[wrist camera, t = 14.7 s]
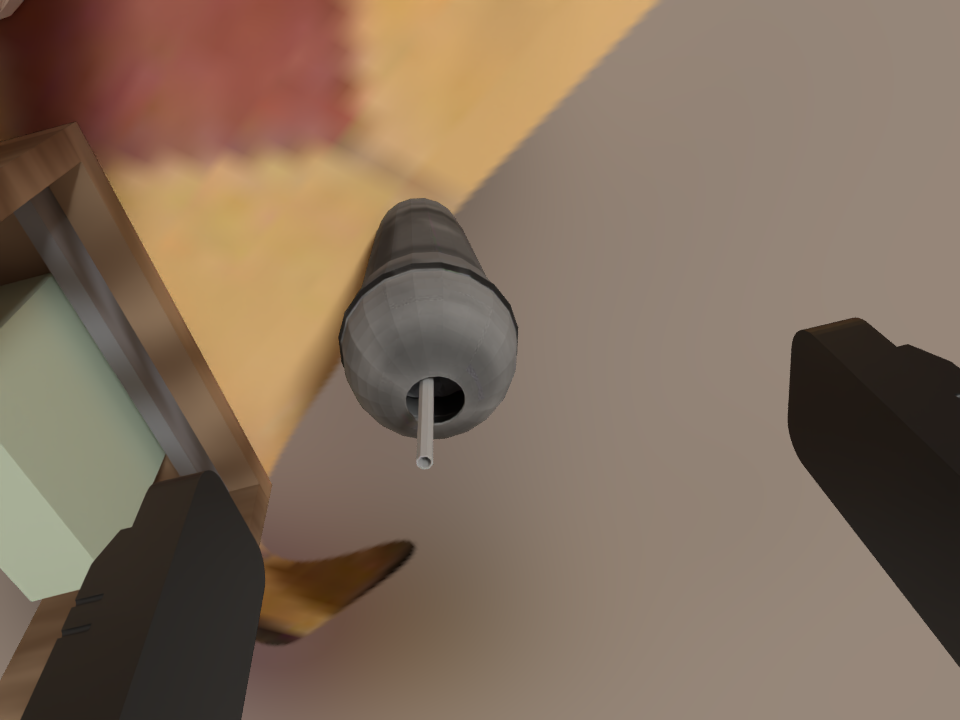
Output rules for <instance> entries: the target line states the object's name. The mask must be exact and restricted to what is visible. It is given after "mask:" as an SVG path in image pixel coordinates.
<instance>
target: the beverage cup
mask: <svg viewBox="0 0 960 720" xmlns="http://www.w3.org/2000/svg"><path fill="white" fill-rule="evenodd" d="M517 340H518V326H517V323H516V320H515V317H514V315H513V312H512V308H511V305H510V304H509V303H508V301H507V300H506V299H505V297H504V296H503V295H502V294H501V292H500V291H499V290H498V289H497V287H496V286H495V285H494V284H493V283H491V282H490V281H489V280H488V278H487V277H486V275H485V273H484V271H483V269H482V267H481V265H480V263H479V261H478V259H477V257H476V255H475V253H474V251H473V249H472V248H471V245H470V243H469V241H468V239H467V237H466V235H465V233H464V231H463V229H462V227H461V226H460V225H459V224H458V222H457V221H456V218H455V217H454V216H453V215H452V213H451V212H450V211H449V210H448V209H447V208H446V207H444V206H443V205H441V204H440V203H438V202H436V201H432V200H429V199H425V198H419V199H409V200H406V201H403V202H401V203H398V204H397V205H396V206H394V207H393V208H392V209H390V210H389V211H388V212H387V214H386V215H385V217H384V218H383V220H382V221H381V224H380V227H379V229H378V230H377V233H376V237H375V241H374V244H373V248H372V252H371V255H370V259H369V263H368V266H367V270H366V273H365V277H364V281H363V284H362V288H361V289H360V290H359V292H358V293H357V295H356V297H355V298H354V300H353V301H352V303H351V304H350V306H349V307H348V309H347V310H346V311H345V314H344V317H343V321H342V325H341V329H340V333H339V345H340V353H341V362H342V364H343V367H344V369H345V375H346V378H347V381H348V383H349V385H350V387H351V388H352V391H353V392H354V394H355V396H356V398H357V400H358V402H359V403H360V405H361V406H362V408H363V409H365V410H366V411H367V412H368V413H369V414H370V415H371V416H372V417H373V418H374V419H375V420H376V421H377V422H378V423H380V424H381V425H382V426H384V427H386V428H388V429H390V430H392V431H394V432H396V433H399V434H401V435H403V436H407V437H413V438H417V456H416V462H417V466H418V467H419V468H421V469H429V468H430V467H431V466H432V465H433V439H445V438H449V437H452V436H455V435H458V434H461V433H464V432H467V431H469V430H471V429H472V428H474V427H475V426H477V425H478V424H480V423H482V422H483V421H485V420H486V419H487V418H488V417H489V416H490V415H491V413H492V412H493V411H494V410H495V409H496V407H497V406H498V405H499V404H500V403H501V402H502V401H503V399H504V398H505V395H506V393H507V390H508V388H509V385H510V383H511V381H512V378H513V376H514V373H515V369H516V356H517V343H518V341H517Z"/></svg>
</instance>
